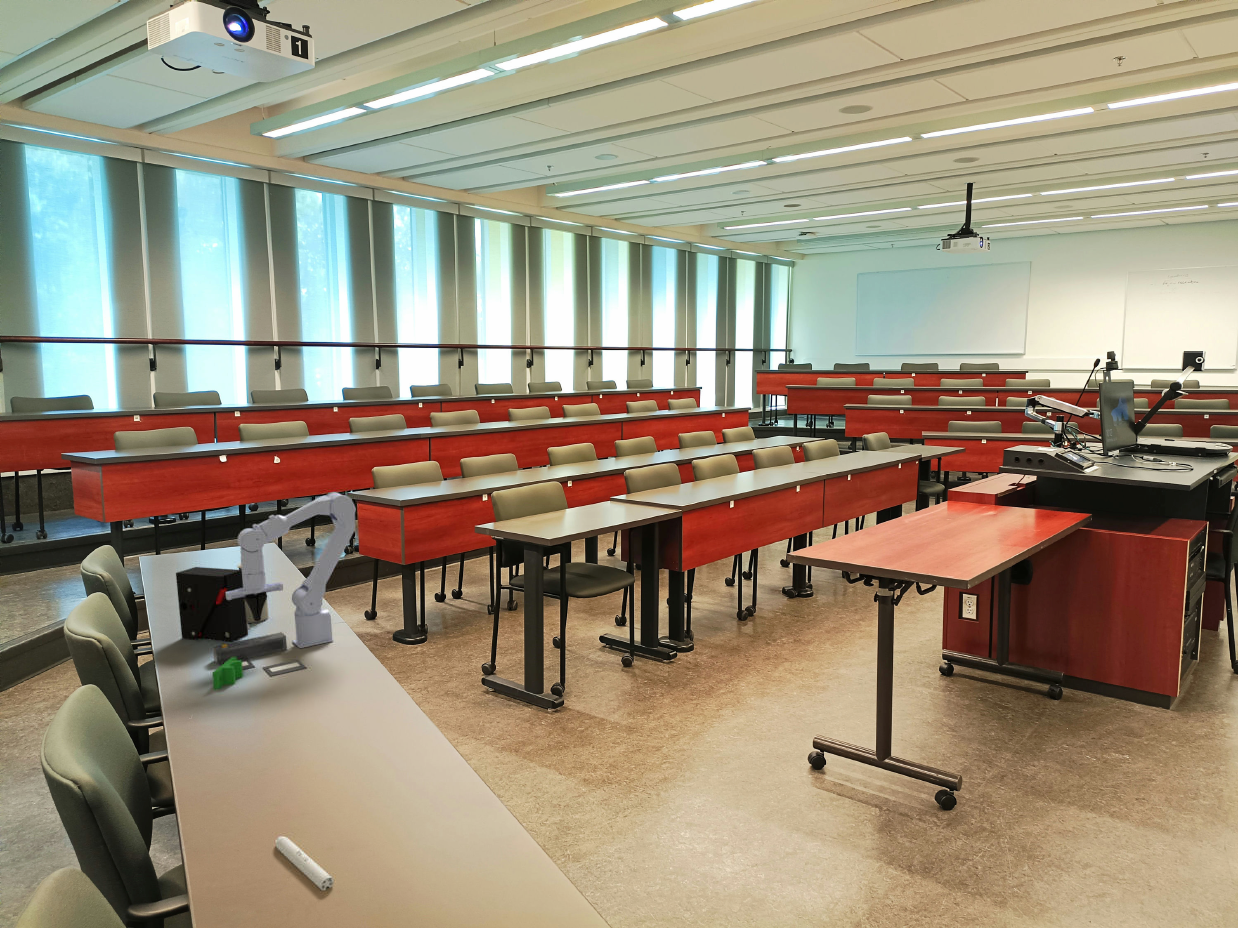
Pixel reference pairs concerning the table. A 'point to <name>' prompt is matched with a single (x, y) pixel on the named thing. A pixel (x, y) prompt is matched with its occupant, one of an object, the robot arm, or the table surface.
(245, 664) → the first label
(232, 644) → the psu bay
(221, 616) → the electrical component
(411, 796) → the table surface
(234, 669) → the pipe clamp
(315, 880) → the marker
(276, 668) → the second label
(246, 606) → the travel mug
